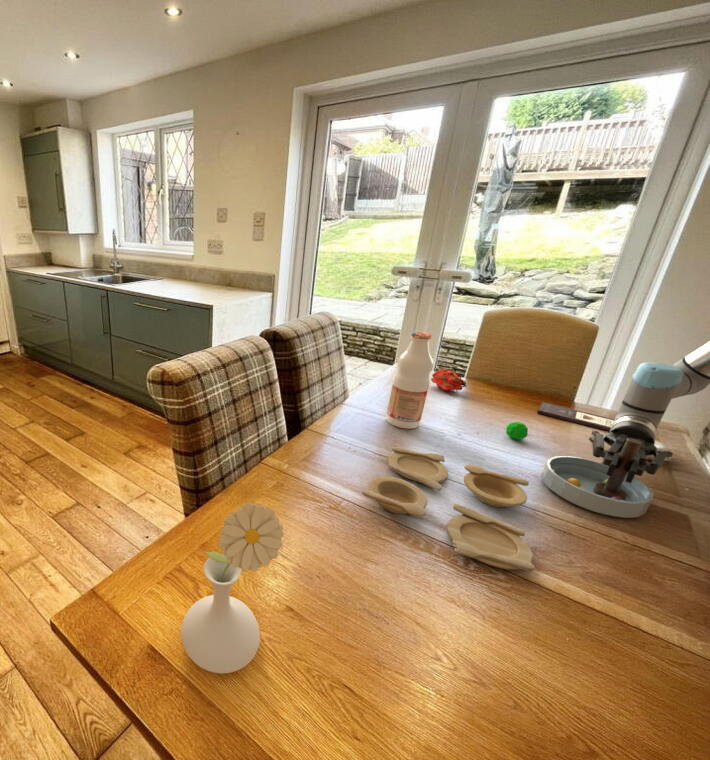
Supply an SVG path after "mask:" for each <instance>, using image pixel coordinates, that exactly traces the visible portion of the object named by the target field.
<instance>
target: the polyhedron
mask: <svg viewBox="0 0 710 760" xmlns="http://www.w3.org/2000/svg"><path fill="white" fill-rule="evenodd" d="M505 429H506V430H505V434H506V435H507V436H508V438H510V439H513V440H515V441H516V440H523V439H525V438H526V437H528V432H529V428H528V426H527V425H526V424H524V423H523V422H520V421H515V422H510V423H508V424H507V425H506V428H505Z"/></svg>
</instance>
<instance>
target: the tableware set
mask: <svg viewBox="0 0 710 760" xmlns="http://www.w3.org/2000/svg"><path fill="white" fill-rule="evenodd" d="M391 451H392V453H390V455H389V456H388V458H387V462H388V464H387V467H388V468H389V469H391V470H393V471H395V472H396V473H397V474H399V475H400V476H402V477H404V478H407V479H409V480H412V481H415V482H419V483H421V484H423V485H425V486H427V487H429V488H432V489H434V490H436V491H437V492H439V491H441V490H442V487H443V486H442V484H441V483H442V482H444V481H445V480H447V479H448V477H449V471H448V468H447V467H446V466H445V465H444V464H443V463H445V462H446V460H445V456H444V454H438V453H433V452H429V453H424V452H419V451H414V450H410V449H405V448H401V447H396V446H392V448H391ZM463 466H464V470H466V471H467V472H468V473H466V474H465V475H464V477H463V483H464V485H465V487H466V489H468V490H469V491H470V492H471V493H473V495H474V497H475V498H476V499H477V500H479V501H480V502H482V503H484V504H486V505H488V506H491V507H496V508H506V507H520V506H523V505H524V504H526V502H527V501H528V495H527V493H526V491H525V490H524V489H523V488H522V486H525V487H527V486H529V481H528V480H526V479H524V478H520V477H516V476H512V475H507V474H502V473H498V472H495V471H490V470H488V469H484V468H483V467H481V466H479V465H476V464H468V463H467V464H465V465H463ZM361 494H362V496H364V497H366V498H369V499H372V500H374V501H376V502H377V503H379V505H380V506H381V507H382V508H383V509H385V510H386V511H389V512H390V513H393V514H397V515H406V514H409V515H411V516H415V517H424V516H426V513H427V511H426V507H427V505H428V498H427V496H426V494H425V492H424V491H423V490H421V489H420V488H419V487H418V486H416V485H414V484H413V483H411V482H409V481H406V480H404V479H402V478H398V477H392V476H379V477H374V478H373V479H371V480H370V481H369V482H368V489H362V491H361ZM452 508H453V510H454V511H456V512H458V513H460V514H459V515H456V516H453V517H451V518H450V519H449V520H448V521H447V523H446V532H447V535H448V537H449V538H450V540H451V543H452V547H453V552H454V553H455V554H457V555H461V556H465V557H468V558H471V559H475V560H477V561H478V562H481V563H483V564H486V565H489V566H491V567H495V568H499V569H502V570H512V571H513V570H516V571H517V570H525V571H528V572H533V571H534V570H535V565H534V564H533V563H532V562H533V558H534V554H533V552H532V549H531V547H530V545H528V543H527V541H525V540H524V539H523V538H522V537H525V535H526V531H525V530H523V529H522V528H519V527H516V526H514V525H511V524H509V523H507V522H504V521H501V520H499V519H497V518H494V517H492V516H489V515H487V514H484V513H482V512H479V511H476V510H474V509H472V508H470V507H466V506H464V505H461V504H459V503H455V502H454V504H453V506H452Z"/></svg>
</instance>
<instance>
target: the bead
mask: <svg viewBox="0 0 710 760" xmlns="http://www.w3.org/2000/svg"><path fill="white" fill-rule="evenodd" d="M567 482H569V483H571V484H573V485H575V486H577V487H579V488H580V486H581V483H580V482H579V481H578V480H577V479H574V478H570V479H568V480H567Z"/></svg>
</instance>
